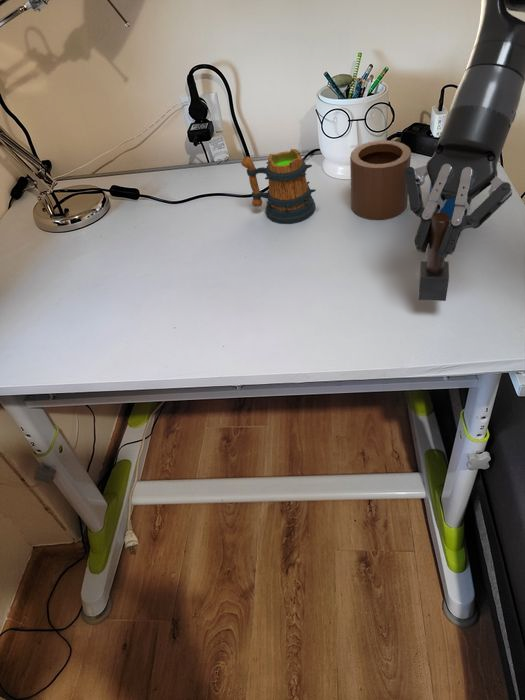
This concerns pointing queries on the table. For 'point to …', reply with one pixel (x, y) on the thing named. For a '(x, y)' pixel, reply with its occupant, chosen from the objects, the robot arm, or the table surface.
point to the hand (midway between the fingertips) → (431, 253)
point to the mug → (283, 187)
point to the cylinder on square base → (435, 263)
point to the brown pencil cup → (379, 179)
